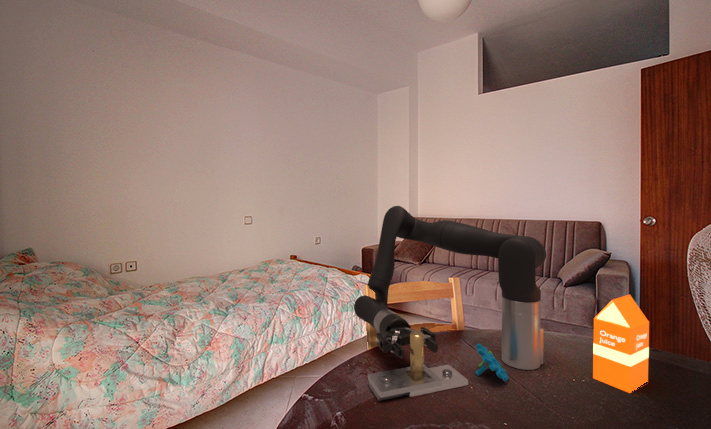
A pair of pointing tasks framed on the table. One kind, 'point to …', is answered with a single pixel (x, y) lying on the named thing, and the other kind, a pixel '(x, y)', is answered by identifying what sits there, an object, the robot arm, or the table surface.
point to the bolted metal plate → (401, 384)
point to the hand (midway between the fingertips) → (419, 351)
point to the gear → (490, 363)
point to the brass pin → (416, 356)
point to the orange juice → (621, 345)
